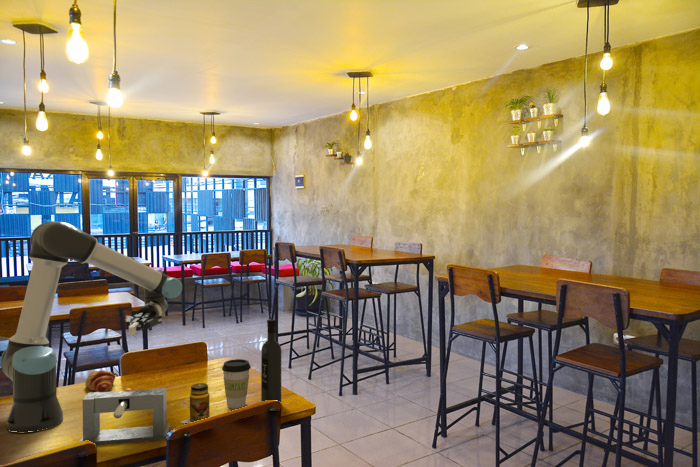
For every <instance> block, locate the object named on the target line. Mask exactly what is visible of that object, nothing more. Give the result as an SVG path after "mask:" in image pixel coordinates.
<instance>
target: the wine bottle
mask: <svg viewBox="0 0 700 467" xmlns="http://www.w3.org/2000/svg"><path fill="white" fill-rule="evenodd" d="M276 320H277V319H272V318H271V319H267V320H266V323H267V324H266V326H267V339H266V341H264V343H263V344H262V346H261V350H260V351H261V353H260V354H261V355H260V356H261V357H260V359H261V360H260V361H261V369H260V372H261V373H260V378H261V379H260V380H261V381H260V382H261V384H260V387H261V388H260V390H261V391H260V393H261V394H260V397H261V398H260V400H261V401H265V400H278V401H280V402H281V403H282V354H283V353H282V351H283V350H282V347H281V345H280V343H279V342H278V341H277V340H276V326H277V323H276V322H277V321H276ZM261 401H260V402H261Z"/></svg>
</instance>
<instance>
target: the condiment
mask: <svg viewBox="0 0 700 467" xmlns="http://www.w3.org/2000/svg"><path fill="white" fill-rule="evenodd" d="M190 389H191V390H190V395H189V418H187V419H184V420H183V421H180V423H181V424H185V423H190V422H194V421H197V420H201V419H205V418H208V417H209V418H210V392H209V385H208V384H207V383H204V382H200V383H198V382H197V383H194V384H192V385H191V386H190Z"/></svg>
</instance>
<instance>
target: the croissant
mask: <svg viewBox="0 0 700 467" xmlns="http://www.w3.org/2000/svg"><path fill="white" fill-rule="evenodd" d="M115 380H116V376H115V374H113V372H111V371H109V370H104V369H103V370H94V371H92V372H90V373H89V374H88V375H87V378H86V380H85V387H86V388H88V390H91V391H95V392H108V391H110V390H111V388H112V387H113V385H114V382H115Z"/></svg>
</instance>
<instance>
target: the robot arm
mask: <svg viewBox="0 0 700 467" xmlns="http://www.w3.org/2000/svg"><path fill="white" fill-rule="evenodd" d="M30 245H31V249H30V252H29V257H28V258H29V259H30V261H31V262H32V266H31V270H30V274H29V279H28V281H27V282H28V283H27V287H26V291H25V295H24V299H23V303H22V308H21V312H20V316H19V320H18V325H17V328H16V333H15V334H14V335H12V336H11V337H9V338H8V342H7V343H8V344H7V346H6V349H5V350H4V351H3V352H2V354H1V356H0V368H1V371H2V372H3V374H4V375H5V377H7V378H8V379H10V380H11V382H12V397H13V398H12V404H11V409H10V411H9V414H8V417H7V420H6V430H7V429H8V430H10V431H17V432H28V431H37V430H42V429H45V430H47V429H46V428H49V427H51V428H53V427H52V426H54V427H56V426H57V425H56V424H58V423H59V424H60V423H62V422H61V421H63V419H64V412H63V409H62V407H61V404H60V402H59V399H58V397H57V362H58V361H57V360H58V359H57V356H56V354H57V353H56V351H55V349H54V348H52V347H49V344H50V341H49V340H48V338H47V337H46V336H47V331H48V328H49V323H50V318H51V314H52V310H53V306H54V301H55V296H56V292H57V288H58V284H59V280H60V276H61V272H62V268H63V267H64V266H66V265H67V264H68V263H69V260H70V261H71V260H72V261H73V262H77V263H79V264H89V265H91V266H94V267H96V268H98V269H100V270H103V271H105V272H108V273H109V274H111V275H113V276H117V277H119V278H120V279H123V280H126V281H128V282H130V283H132V284H135V285H137V286H139V287H140V288H141V287H142V288H143V297H144V298H143V301H144V304H143V305H142V306H141V307H140V308H139V309H138V311H137V312H136V314H134V315H133V316H131V315H128V314H127V315H125V318H124V320H125V321H124V322H125V325H126V326H125V328H126V330H128V336H135V335H136V334H137V332H139V331H142V330H144V329H145V330H149V329H151V328H153V327H155V326H157V325H159V324H162V323H163V315H164V314H165V313H166V311H167V310H168V307H169V306H168V301H167V300H166V298H167V299H175V298H178V297H179V296H180V295H181V293H182V291H183V284H182V281H180V279H178V278H176V277H171V276H169V275H167V274H165V273H163V269H162V268H157V267H156V268H154V267H151V266H148V265H146V264H145V263H142V262H140V261H138V260H136V259H133V258H131V257H130V256H128V255H125V254H123V253H121V252H119V251H117V250H115V249H113V248H111V247H109V246H106V245H104V244H103V243H100V242H99V241H98V239H97V238H96V237H94V236H93V235H91V234H89V233H87V232H85V231H83V230H81V229H80V228H78V227H77V226H75V225H73V224H71V223H68V222H65V221H54V220H52V221H51V220H50V221H45V222H42V223H41V224H39V225H38V226H36V227H35V228H34V229H33V230H32V232H31V234H30ZM59 424H58V425H59ZM55 425H56V426H55ZM49 429H50V428H49ZM8 430H7V431H8ZM42 431H43V430H42ZM37 432H38V431H37Z"/></svg>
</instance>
